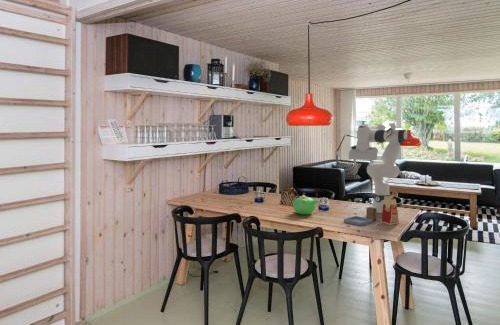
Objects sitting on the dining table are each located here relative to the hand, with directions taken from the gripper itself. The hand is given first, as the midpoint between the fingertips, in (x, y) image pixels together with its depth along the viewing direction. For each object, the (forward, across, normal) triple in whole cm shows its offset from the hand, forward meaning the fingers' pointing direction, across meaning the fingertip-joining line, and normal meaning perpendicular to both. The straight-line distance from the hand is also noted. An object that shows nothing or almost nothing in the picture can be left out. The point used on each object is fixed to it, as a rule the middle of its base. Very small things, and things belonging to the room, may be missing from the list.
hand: (362, 165), depth 267 cm
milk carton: (+40, -20, +4) cm, 45 cm away
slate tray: (+39, 0, +14) cm, 42 cm away
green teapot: (+40, +42, +8) cm, 58 cm away
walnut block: (+40, -8, +3) cm, 40 cm away
